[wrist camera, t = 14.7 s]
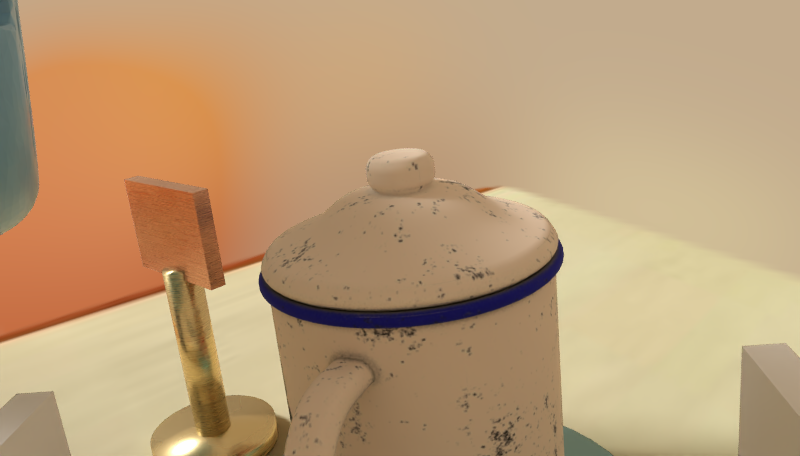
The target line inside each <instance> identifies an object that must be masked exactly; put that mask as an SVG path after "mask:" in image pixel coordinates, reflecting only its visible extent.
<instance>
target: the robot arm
mask: <svg viewBox="0 0 800 456" xmlns="http://www.w3.org/2000/svg"><path fill="white" fill-rule="evenodd" d="M17 2H18V1H17V0H0V235H2V234H3V233H4V232H6V231H8V230H10V229H11V228H13V227H14V226H16V225H17V224H18V223H19V222H20V221H22V220H23V219H24V218H25V217H26V216H27V214H28V213H29V211H30V210H31V209H32V207H33V205H34V203H35V200H36V198H37V194H38V189H39V176H38V164H37V154H36V145H35V136H34V127H33V119H32V110H31V102H30V95H29V86H28V78H27V70H26V62H25V54H24V46H23V39H22V32H21V25H20V17H19V11H18V3H17ZM0 456H71V454H70V450H69V447H68V443H67V439H66V436H65V432H64V428H63V425H62V421H61V418H60V414H59V410H58V407H57V403H56V399H55V396H54V392H53V391H52V392H36V393H21V394H16V395H15V396H14V397H13V398H12V399H10V400H9V401H8V402H7V403H6V404H5V405H4V406H3V407H2V408H1V409H0ZM738 456H800V358H799V357H798V356H797V354H796V353H795V352H794V351H793V350H792V349H791V348H790V347H789V346H788V345H787V344H786V343H782V344H766V345H751V346H742V361H741V390H740V420H739V449H738Z"/></svg>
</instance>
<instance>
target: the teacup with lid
mask: <svg viewBox="0 0 800 456" xmlns="http://www.w3.org/2000/svg"><path fill="white" fill-rule="evenodd" d="M366 175H367V182H368V184H369V185H367V186H364V187H362V188H359V189H357V190H354V191H352V192H350V193H348V194H346V195H345V196H343V197H342V198H341V199H339V200H338V201H336V202H335V203H334V204H333V205H332V206H331V207H330V208H329V209H327V210H326V211H325V212H324V213H323V214H320V215H318V216H315V217H312V218H310V219H307V220H305V221H303V222H301V223H299V224H297V225H295V226H293V227H291V228H290V229H288V230H287V231H285V232H284V233H282V234H281V235H280V236H279V237H278V238H276V239H275V240H274V242H273V243H272V244H271V245H270V246H269V248H268V250H267V251H266V253H265V256H264V258H263V261H262V265H261V272H260V275H259V287H260V291H261V293H262V295H263V297H264V298H265V299H266V301H267V302H268V303H269V304H271V308H272V314H273V320H274V326H275V331H276V337H277V343H278V349H279V355H280V361H281V367H282V373H283V379H284V384H285V390H286V396H287V402H288V408H289V414H290V420H291V424H290V427H289V431H288V435H287V439H286V444H285V449H284V456H564V438H563V416H562V395H561V373H560V351H559V329H558V307H557V285H556V274H557V272H558V271H559V270H560V267H561V265H562V263H563V257H564V253H563V247H562V244H561V242H560V240H559V239H558V235H557V233H556V230H555V229H554V227H553V226H552V224H551V223H550V222H549V220H548V219H547V218H546V217H545V216H543V215H542V214H541V213H540V212H538V211H536V210H535V209H533V208H531V207H529V206H526V205H524V204H521V203H518V202H514V201H511V200H506V199H502V198H496V197H490V196H484V195H483V194H481V193H479V192H478V191H476V190H474V189H472V188H470V187H468V186H466V185H464V184H461V183H458V182H455V181H452V180H446V179H439V178H434V177H435V167H434V160H433V158H432V157H431V155H430V154H429V153H428V152H427V151H425V150H422V149H414V148H405V149H395V150H389V151H384V152H380V153H378V154H375V155H373V156H372V157H371V158H370V159H369V161H368V163H367V165H366Z"/></svg>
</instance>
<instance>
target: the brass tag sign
mask: <svg viewBox="0 0 800 456" xmlns="http://www.w3.org/2000/svg"><path fill="white" fill-rule="evenodd" d="M124 181H125V185H126V191H127V195H128V199H129V204H130V209H131V213H132V218H133V222H134V227H135V231H136V235H137V239H138V245H139V249H140V253H141V258H142V263H143V266H144V267H147V268H150V269H153V270H155V271H158V272H161V273H162V274H163V278H164V284H165V288H166V293H167V298H168V302H169V307H170V312H171V316H172V321H173V326H174V330H175V335H176V340H177V344H178V349H179V353H180V358H181V363H182V367H183V372H184V377H185V381H186V386H187V391H188V395H189V400H190V405H189V406H187V407H185V408H183V409H181V410H179V411H177V412H175V413H174V414H172V415H171V416H169V417H168V418H167V419H165V420H164V421H163V422H162V423H161V424H160V425H159V426H158V427H157V428H156V430H155V431H154V433H153V435H152V438H151V449H152V453H153V456H266V455H267V454H268V453H269V452H270V450H271V449H272V448H273V446H274V445H275V443H276V440H277V437H278V430H277V424H276V418H275V413H274V410H273V408H272V407H271V406H270V405H269V404H268V403H267V402H265V401H263V400H261V399H259V398H255V397H251V396H242V395H231V396H225V390H224V385H223V380H222V375H221V370H220V365H219V360H218V355H217V350H216V345H215V340H214V335H213V330H212V325H211V320H210V315H209V310H208V305H207V300H206V295H205V290H204V288H207V289H209V290H213V289H216V288H218V287H221V286H223V285H226V284H225V279H224V274H223V268H222V263H221V258H220V253H219V247H218V243H217V237H216V231H215V226H214V221H213V215H212V211H211V205H210V200H209V195H208V189H206V188H201V187H195V186H190V185H184V184H179V183H174V182H168V181H162V180H157V179H152V178H147V177H141V176H136V177H132V178H129V179H125V180H124Z"/></svg>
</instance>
